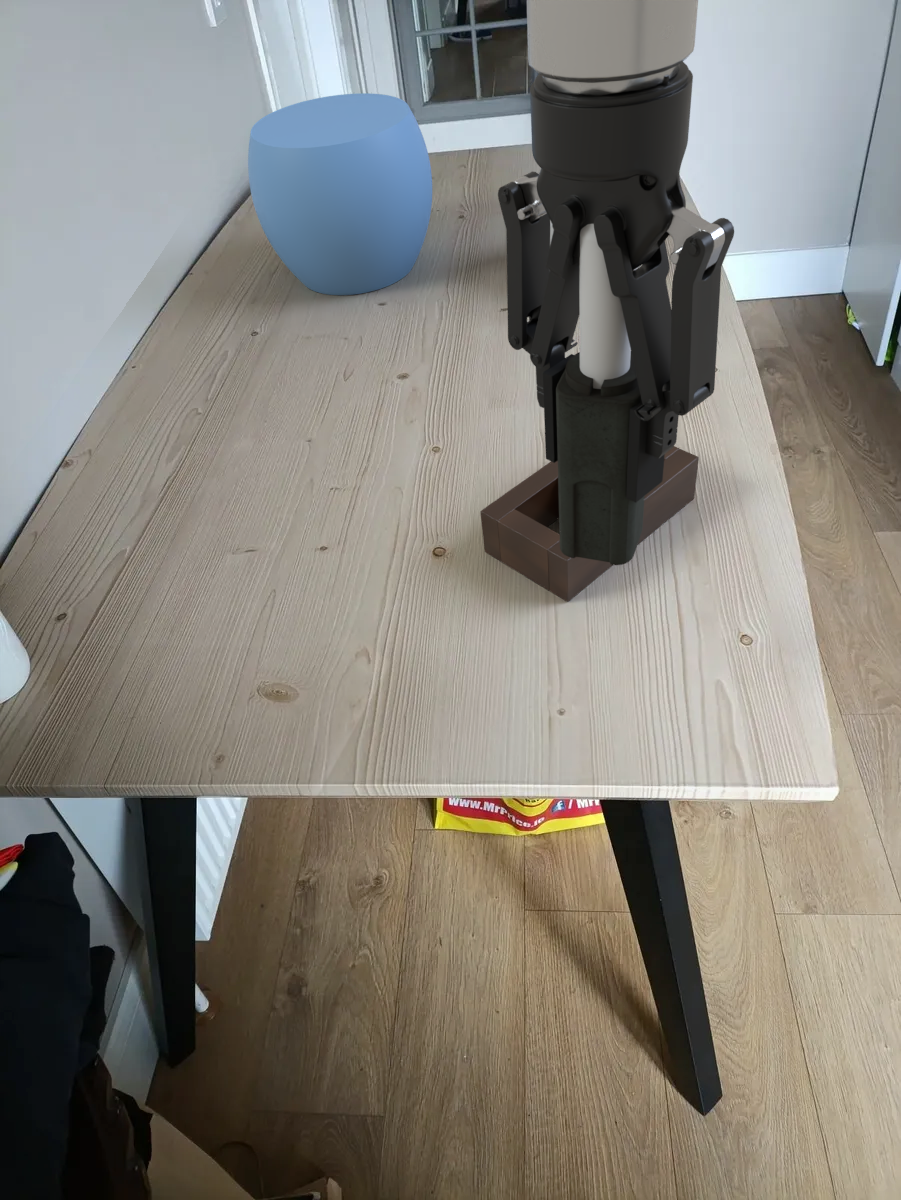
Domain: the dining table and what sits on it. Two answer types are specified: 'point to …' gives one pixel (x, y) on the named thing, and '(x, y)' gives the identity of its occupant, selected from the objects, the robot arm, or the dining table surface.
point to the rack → (534, 505)
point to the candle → (597, 424)
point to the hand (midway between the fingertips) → (602, 469)
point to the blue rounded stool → (342, 190)
